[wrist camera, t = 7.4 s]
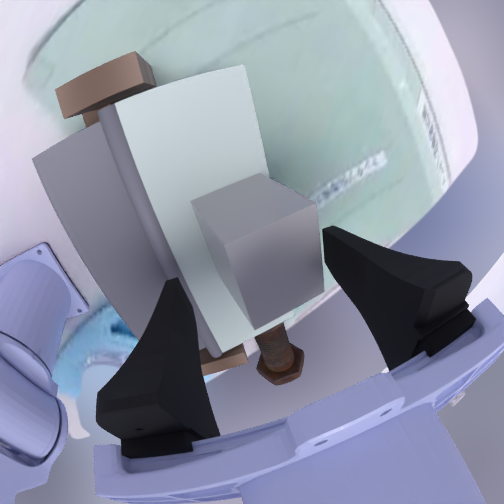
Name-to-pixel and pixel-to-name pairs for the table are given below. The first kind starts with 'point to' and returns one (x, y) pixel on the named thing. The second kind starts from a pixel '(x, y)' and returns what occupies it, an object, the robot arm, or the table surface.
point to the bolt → (278, 356)
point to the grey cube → (263, 245)
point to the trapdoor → (159, 196)
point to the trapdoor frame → (88, 103)
